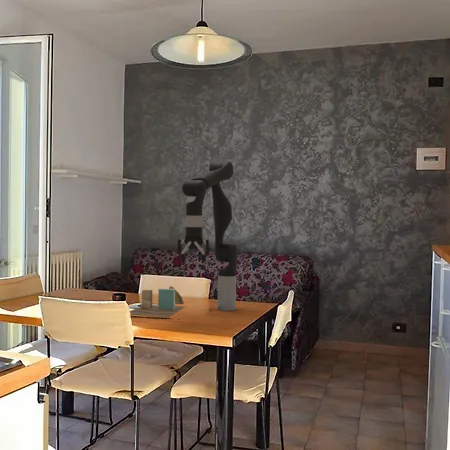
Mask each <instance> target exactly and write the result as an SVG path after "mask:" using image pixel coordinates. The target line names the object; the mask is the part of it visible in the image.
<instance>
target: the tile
mask: <svg viewBox="0 0 450 450" xmlns="http://www.w3.org/2000/svg"><path fill="white" fill-rule="evenodd" d="M175 290H176V288H174V289H169V288H162V287H161V288H158V291H157V292H158V297H157V301H158V303H157V305H158V309H163V310H175V306H176V304H175Z"/></svg>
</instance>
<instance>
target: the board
mask: <svg viewBox="0 0 450 450" xmlns="http://www.w3.org/2000/svg"><path fill="white" fill-rule="evenodd" d="M185 308H186V306H178V305H175V310H163V309H158V304H152V308H151V309H142V305H141V306H138V307H136V308H134V309H132V310H130V313H131V315H130V316H131V317H130V318H132V319H133V318H137V319H153V320H167V319H169V320H171V318H172V317H171V316H173V315H175V314H176V313H178V312H180V311H181V310H183V309H185ZM170 317H171V318H170Z"/></svg>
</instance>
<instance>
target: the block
mask: <svg viewBox="0 0 450 450" xmlns="http://www.w3.org/2000/svg"><path fill="white" fill-rule="evenodd" d="M152 305H153V289H142V290H141V306H142V309H151V308H152Z"/></svg>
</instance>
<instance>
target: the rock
mask: <svg viewBox="0 0 450 450" xmlns="http://www.w3.org/2000/svg"><path fill="white" fill-rule="evenodd" d="M168 289H175V288H174V286H169V287H168ZM184 304H185V302H184V300H183V297H182V296H181V294H180V293H179V291H177V290H176V289H175V305H184Z"/></svg>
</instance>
